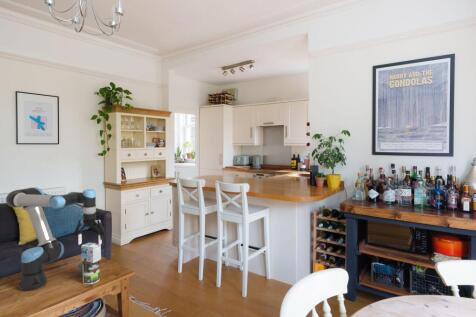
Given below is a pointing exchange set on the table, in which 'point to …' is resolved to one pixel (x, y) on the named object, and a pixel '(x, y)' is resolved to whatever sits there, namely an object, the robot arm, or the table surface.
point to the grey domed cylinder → (80, 269)
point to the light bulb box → (91, 252)
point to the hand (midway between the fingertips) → (90, 244)
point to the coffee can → (90, 272)
